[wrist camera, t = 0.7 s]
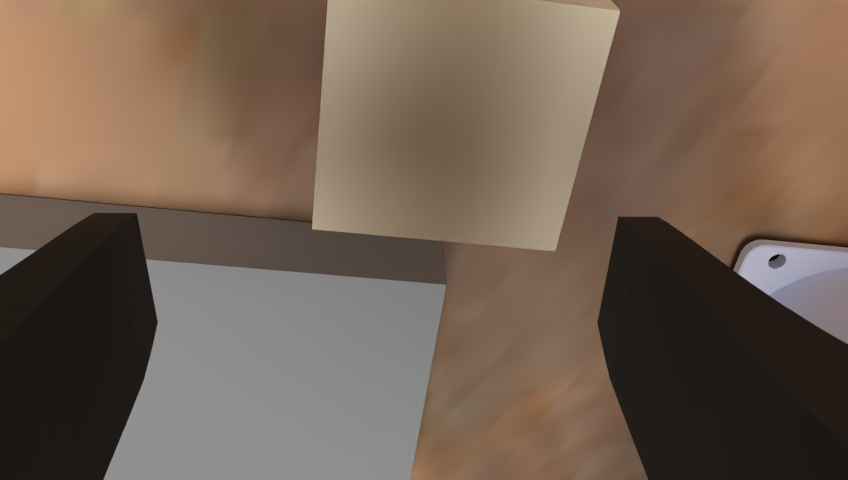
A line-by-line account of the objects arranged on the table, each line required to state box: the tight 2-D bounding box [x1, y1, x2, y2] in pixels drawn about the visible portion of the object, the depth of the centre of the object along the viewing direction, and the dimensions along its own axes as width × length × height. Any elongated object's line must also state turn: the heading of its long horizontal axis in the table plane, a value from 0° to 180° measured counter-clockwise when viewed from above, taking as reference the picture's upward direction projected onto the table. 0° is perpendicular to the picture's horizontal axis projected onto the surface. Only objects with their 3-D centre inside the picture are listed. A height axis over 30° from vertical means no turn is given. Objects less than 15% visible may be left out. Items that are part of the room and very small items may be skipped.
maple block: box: [312, 0, 620, 251], centre depth 17 cm, size 5×5×6 cm
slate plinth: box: [0, 194, 447, 480], centre depth 25 cm, size 16×16×2 cm
